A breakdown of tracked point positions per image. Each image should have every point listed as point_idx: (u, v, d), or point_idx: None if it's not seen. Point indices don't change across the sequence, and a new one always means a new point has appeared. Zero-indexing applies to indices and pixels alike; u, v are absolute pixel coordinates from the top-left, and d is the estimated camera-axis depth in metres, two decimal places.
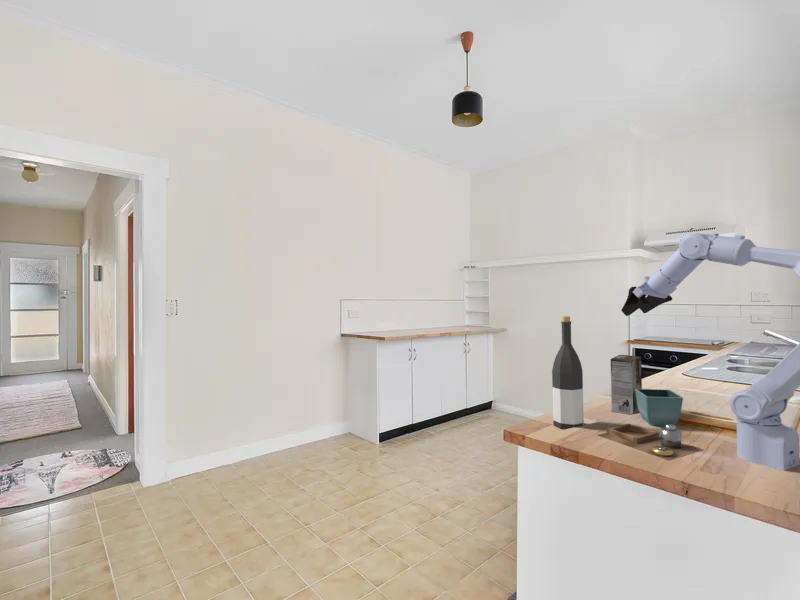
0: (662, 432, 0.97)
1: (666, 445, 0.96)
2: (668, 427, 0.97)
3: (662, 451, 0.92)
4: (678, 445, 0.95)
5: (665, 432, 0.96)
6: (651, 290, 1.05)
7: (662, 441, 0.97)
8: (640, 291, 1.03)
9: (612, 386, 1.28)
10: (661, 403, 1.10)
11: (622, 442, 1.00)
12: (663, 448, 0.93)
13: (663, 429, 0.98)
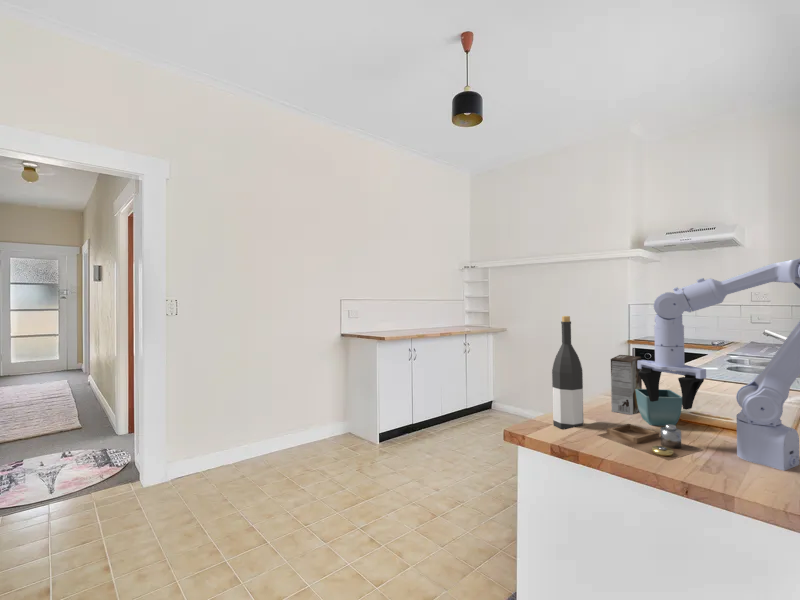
0: (662, 432, 0.97)
1: (666, 445, 0.96)
2: (668, 427, 0.97)
3: (662, 451, 0.92)
4: (678, 445, 0.95)
5: (665, 432, 0.96)
6: (684, 367, 0.94)
7: (662, 441, 0.97)
8: (704, 370, 0.91)
9: (612, 386, 1.28)
10: (661, 403, 1.10)
11: (622, 442, 1.00)
12: (663, 448, 0.93)
13: (663, 429, 0.98)
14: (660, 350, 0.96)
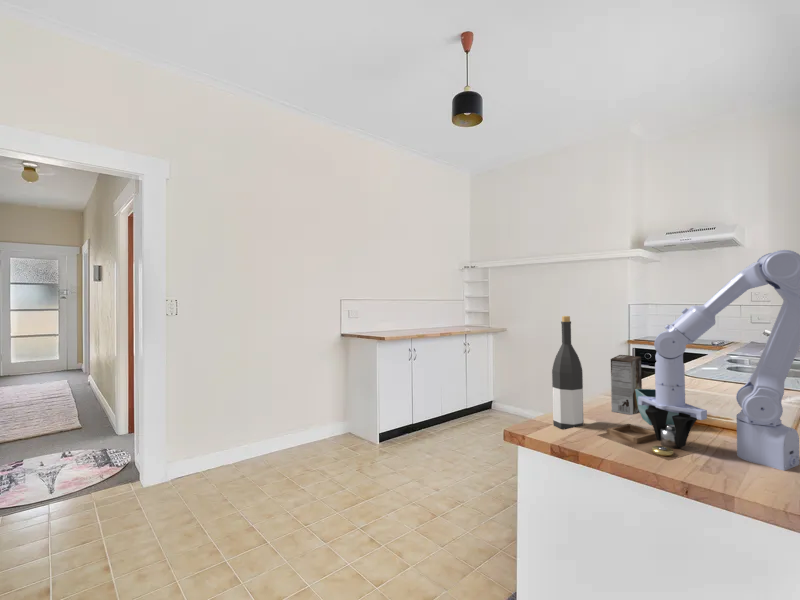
0: (662, 432, 0.97)
1: (666, 445, 0.96)
2: (668, 427, 0.97)
3: (662, 451, 0.92)
4: None
5: (665, 432, 0.96)
6: None
7: (662, 441, 0.97)
8: (705, 411, 0.91)
9: (612, 386, 1.28)
10: None
11: (622, 442, 1.00)
12: (663, 448, 0.93)
13: (663, 429, 0.98)
14: (661, 389, 0.96)
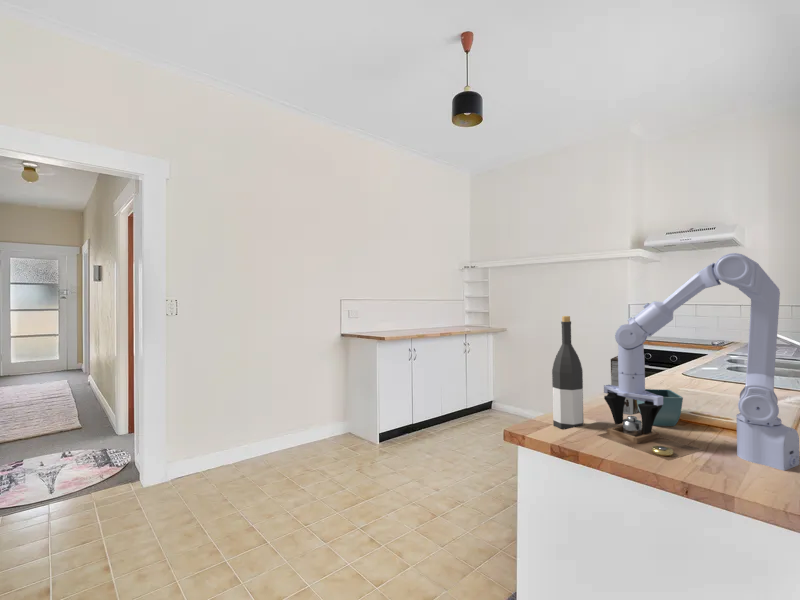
0: (624, 423, 1.04)
1: None
2: (629, 418, 1.04)
3: (662, 451, 0.92)
4: (638, 435, 1.02)
5: (626, 423, 1.03)
6: (644, 393, 1.02)
7: (624, 431, 1.04)
8: (661, 398, 0.98)
9: None
10: None
11: (622, 442, 1.00)
12: (663, 448, 0.93)
13: (625, 420, 1.05)
14: (622, 377, 1.03)
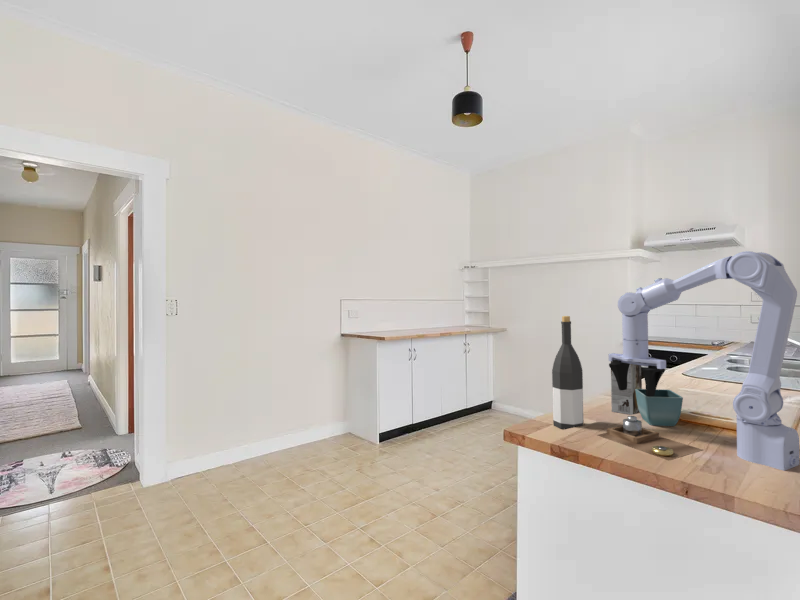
0: (624, 423, 1.04)
1: None
2: (629, 418, 1.04)
3: (662, 451, 0.92)
4: (638, 435, 1.02)
5: (626, 423, 1.03)
6: (648, 359, 1.06)
7: (624, 431, 1.04)
8: (664, 362, 1.02)
9: (612, 386, 1.28)
10: (661, 403, 1.10)
11: (622, 442, 1.00)
12: (663, 448, 0.93)
13: (625, 420, 1.05)
14: (627, 344, 1.07)
